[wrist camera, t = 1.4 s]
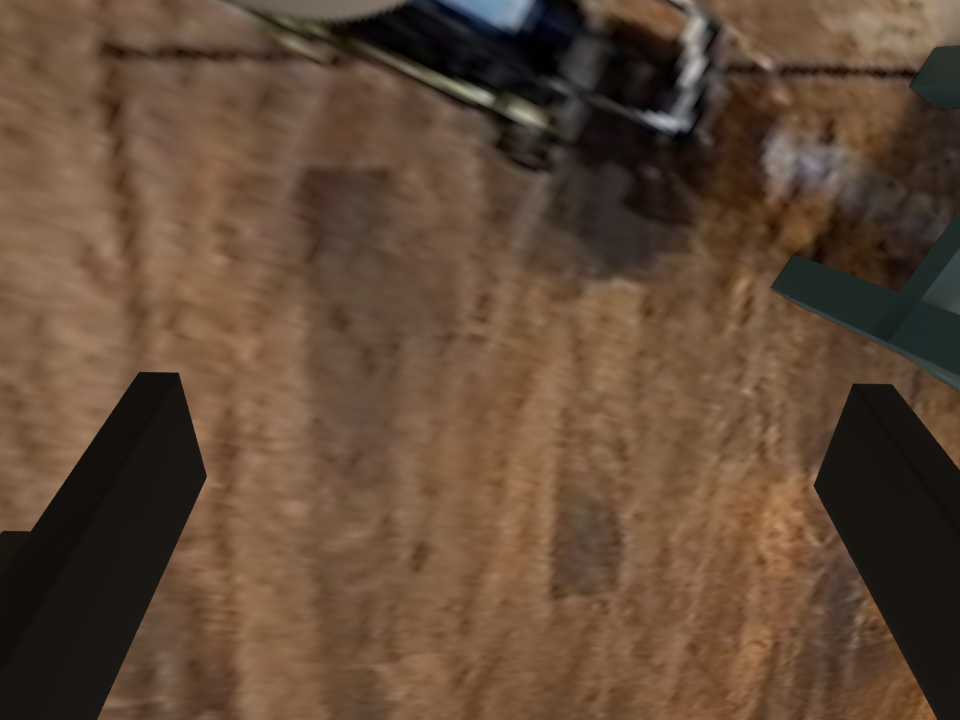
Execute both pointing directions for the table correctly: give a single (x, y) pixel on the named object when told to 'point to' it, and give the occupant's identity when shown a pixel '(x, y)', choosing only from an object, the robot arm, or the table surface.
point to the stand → (927, 294)
